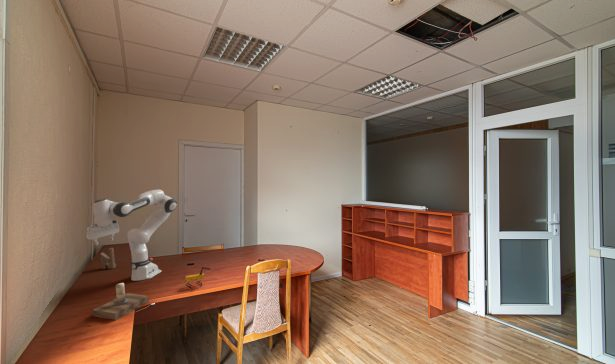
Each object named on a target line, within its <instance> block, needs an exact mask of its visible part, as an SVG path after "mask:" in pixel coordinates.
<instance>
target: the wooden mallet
mask: <svg viewBox="0 0 615 364" xmlns="http://www.w3.org/2000/svg"><path fill="white" fill-rule="evenodd" d="M114 252H115V250H114V247H110V248H108V255H107V254H106V253H105V252H100V264H101V265H100V266H101V270H107V269H108V270H109V269H110V270H111V269H115V268H117V264H116V263H115V261H116V260H115V253H114Z"/></svg>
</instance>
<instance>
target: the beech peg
mask: <svg viewBox="0 0 615 364" xmlns="http://www.w3.org/2000/svg"><path fill="white" fill-rule="evenodd" d="M125 291H126V289H125V283H124V282H120V283H117V284H116V285H115V294H116V298H117V301H116V302H115V303H114V305H115V306H119V305H123V304H126V303H127V302H128V301H129V299H125V294H126V292H125Z"/></svg>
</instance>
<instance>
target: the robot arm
mask: <svg viewBox="0 0 615 364" xmlns="http://www.w3.org/2000/svg"><path fill="white" fill-rule="evenodd" d="M153 205H155V206H157V207H158V209H157V210H156V211H154V212H153V213H152V214H151V215H149V217H147V218H146V219H145V220H144V222H143V223H142V225H141V226H140V227H139V228H132V229H130V230H129V231H128V232H127V234H126V236H127V237H126V238H127V239H128V240H127V241H128V244H129V249H130V253H131V261H130V262H131V263H130V264H131V278H130V280H131V281H134V282H135V281H136V282H137V281H144V280H149V279H151V278H154V277H155V276H156V275H158V274H161V272H162V270H161V269H159V266H158V265H157V264H156V263H153V262H152V261H153V260H154V259H153V258H152V257H150V258H149V253H148V247H147V245H146V244H147V243H148V242H149V241H150V238H151V237H152V235H153V234H154V233H155V232H156V230H157V229H158V228H159V227H160V226H161V225H162V224H164V222H165V221H166V220H167V219H168V218H169V217H170V215H171V213H172V212H173V211H174V210H176V208H177V206H178V201H177V200H176V199H174V198H172V197H171V196H169V195H166V194H165V192H164V190H162V189H153V190H147V191H145V192H143V193H141V194H139V195H138V198H137V199H136V200H133V201H130V202H116V201H112V200H109V199H107V198H102V199H97V200H95V201H94V202H93V208H92V209H93V214H94V219H93V224H90V225H88V226H86V235H85V236H86V239H87V240H91V241H93V242H94V245H95V246H98V245H100V241H98V239H99V238H103V237H106V236H110V238H108V239H109V240H108V241H109V242H112V241H114V236H115V234H119V232H120V225H119V224H118V223H119V221H118V219H111V217H113V216H115V217H119V218H125V217H128V216H130V215H131V214H132V213H133V212H135V211H137V210H139V209H142V208H144V207H148V206H153Z"/></svg>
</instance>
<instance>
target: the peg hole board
mask: <svg viewBox="0 0 615 364" xmlns="http://www.w3.org/2000/svg"><path fill="white" fill-rule="evenodd" d="M125 299H129V301H128V302H127V303H126V304H123V305H119V306H115V305H114V303H115V302H116V301H117V297H116V298H114V299H112V300H110V301H108V302H106V303H105V304H102V305H99V306H98V307H96V308H94V309H92V312H93V313H92V315H93V317H96V318H100V319H101V318H102V319H106V320H107V319H108V320H112V321H117V320H119V319H120V318H122V317H124V316H126V315H127V314H130V313H131V312H133V311H135V310H137V309H138V308H141V307H142V306H144V305H146V304H147V303H149V302H150V301H149V296H148V295H144V294H138V293H131V292H127V293H126V292H125Z"/></svg>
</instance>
